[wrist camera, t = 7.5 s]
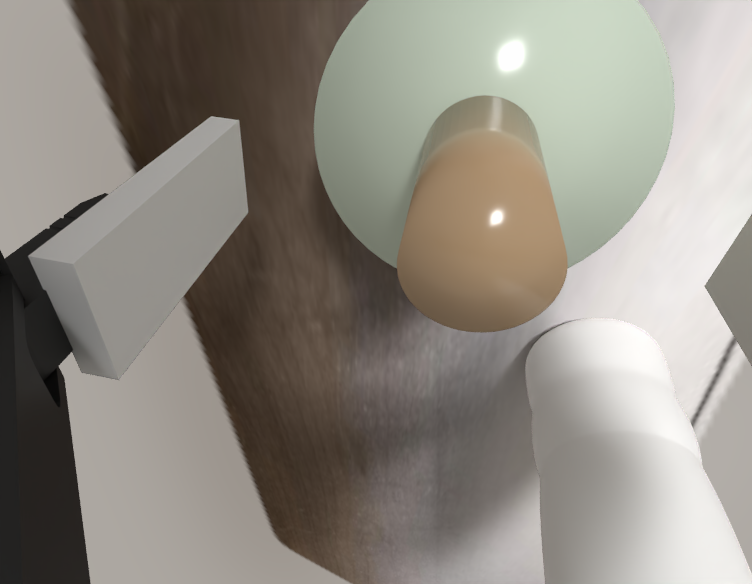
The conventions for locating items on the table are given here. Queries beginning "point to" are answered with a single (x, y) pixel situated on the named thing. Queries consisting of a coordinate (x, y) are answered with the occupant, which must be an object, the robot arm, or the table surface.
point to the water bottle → (621, 465)
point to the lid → (492, 143)
